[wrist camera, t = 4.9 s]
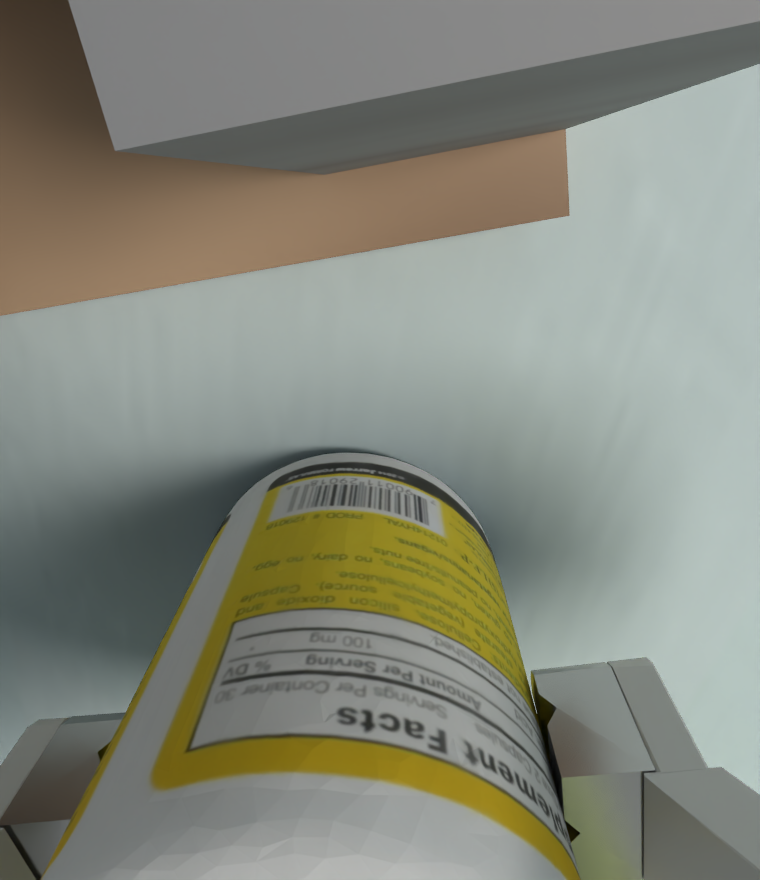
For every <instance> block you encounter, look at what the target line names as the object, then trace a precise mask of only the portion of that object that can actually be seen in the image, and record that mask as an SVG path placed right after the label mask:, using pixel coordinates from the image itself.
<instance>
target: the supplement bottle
mask: <svg viewBox="0 0 760 880" xmlns="http://www.w3.org/2000/svg"><path fill="white" fill-rule="evenodd" d="M41 880H580V876H579V872H578V868H577V865H576V861H575V857H574V853H573V850H572V846H571V842H570V838H569V834H568V831H567V827H566V823H565V819H564V816H563V813H562V810H561V806H560V802H559V798H558V794H557V790H556V786H555V782H554V779H553V774H552V769H551V766H550V763H549V760H548V757H547V752H546V748H545V744H544V740H543V736H542V733H541V729H540V725H539V721H538V717H537V714H536V710H535V706H534V703H533V699H532V696H531V691H530V687H529V684H528V680H527V676H526V672H525V669H524V665H523V661H522V658H521V654H520V650H519V647H518V643H517V638H516V635H515V631H514V627H513V624H512V620H511V616H510V613H509V609H508V605H507V601H506V597H505V593H504V590H503V587H502V583H501V579H500V576H499V573H498V569H497V567H496V563H495V560H494V556H493V553H492V550H491V547H490V545H489V542H488V539H487V537H486V535H485V533H484V531H483V529H482V526H481V525H480V523H479V522H478V520H477V518H476V517H475V515H474V514H473V512H472V511H471V510H470V508H469V507H468V506H467V505H466V504H465V503H464V502H463V501H462V499H461V498H460V497H459V496H458V495H457V494H456V493H455V492H454V491H452V490H451V489H450V488H449V487H448V486H447V485H446V484H444V483H443V482H441V481H440V480H439V479H437V478H436V477H434V476H432V475H431V474H429V473H427V472H425V471H423V470H421V469H419V468H417V467H415V466H412V465H410V464H408V463H405V462H402V461H399V460H397V459H393V458H389V457H385V456H379V455H373V454H364V453H333V454H323V455H318V456H314V457H310V458H306V459H303V460H300V461H297V462H294V463H292V464H289V465H287V466H285V467H283V468H281V469H278V470H276V471H274V472H273V473H271V474H269V475H268V476H266V477H265V478H263V479H262V480H260V481H259V482H258V483H256V484H255V485H254V486H253V487H252V488H250V489H249V490H248V491H247V492H246V493H245V494H244V495H243V496H242V497H241V498H240V499H239V501H238V502H237V503H236V504H235V506H234V507H233V508H232V510H231V511H230V512H229V514H228V515H227V517H226V518H225V520H224V522H223V523H222V525H221V527H220V528H219V530H218V532H217V534H216V536H215V537H214V539H213V541H212V543H211V545H210V547H209V549H208V551H207V553H206V555H205V557H204V559H203V561H202V562H201V564H200V566H199V568H198V570H197V572H196V574H195V576H194V578H193V580H192V582H191V584H190V586H189V588H188V590H187V592H186V594H185V596H184V598H183V600H182V602H181V604H180V606H179V608H178V610H177V612H176V614H175V616H174V618H173V620H172V622H171V624H170V626H169V628H168V630H167V632H166V634H165V636H164V638H163V640H162V642H161V643H160V645H159V647H158V649H157V651H156V653H155V655H154V657H153V659H152V661H151V663H150V665H149V667H148V669H147V671H146V673H145V675H144V677H143V679H142V681H141V683H140V685H139V687H138V689H137V691H136V693H135V695H134V697H133V699H132V701H131V703H130V705H129V707H128V709H127V711H126V713H125V715H124V717H123V719H122V721H121V723H120V725H119V727H118V729H117V730H116V732H115V734H114V736H113V738H112V740H111V742H110V744H109V746H108V748H107V750H106V752H105V754H104V756H103V758H102V760H101V762H100V764H99V766H98V768H97V770H96V772H95V774H94V776H93V777H92V779H91V781H90V783H89V785H88V787H87V789H86V791H85V793H84V795H83V797H82V799H81V801H80V803H79V805H78V807H77V809H76V811H75V813H74V814H73V816H72V818H71V820H70V822H69V824H68V826H67V828H66V830H65V832H64V834H63V836H62V838H61V840H60V842H59V844H58V846H57V848H56V850H55V852H54V854H53V856H52V858H51V860H50V862H49V864H48V866H47V868H46V870H45V872H44V874H43V876H42V878H41Z"/></svg>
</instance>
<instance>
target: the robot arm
mask: <svg viewBox="0 0 760 880" xmlns="http://www.w3.org/2000/svg"><path fill="white" fill-rule="evenodd" d="M531 685H532V694H533V698H534V702H535V706H536V710H537V717H538V721H539V725H540V729H541V733H542V736H543V740H544V744H545V748H546V752H547V757H548V760H549V763H550V766H551V769H552V774H553V779H554V782H555V786H556V790H557V794H558V798H559V802H560V806H561V810H562V813H563V816H564V819H565V823H566V827H567V831H568V834H569V838H570V842H571V846H572V850H573V853H574V857H575V861H576V865H577V868H578V872H579V876H580V880H760V794H758V793H757V792H756V791H754V790H753V789H751V788H750V787H749V786H747V785H746V784H744V783H743V782H742V781H740V780H739V779H737V778H736V777H735V776H733V775H732V774H730V773H729V772H728V771H726V770H725V769H724V768H722V767H716V768H708V767H707V765H706V763H705V761H704V759H703V757H702V755H701V753H700V751H699V749H698V748H697V746H696V744H695V742H694V740H693V738H692V736H691V734H690V732H689V730H688V729H687V727H686V725H685V723H684V721H683V719H682V717H681V715H680V713H679V712H678V710H677V708H676V706H675V704H674V702H673V700H672V698H671V696H670V694H669V693H668V691H667V689H666V687H665V685H664V683H663V681H662V679H661V677H660V676H659V674H658V672H657V670H656V668H655V666H654V664H653V663H652V662H651V661H650V660H649V659H648V658H646V657H645V658H636V659H627V660H618V661H609V662H607V663H605V662H601V663H592V664H583V665H575V666H566V667H557V668H548V669H539V670H531ZM125 713H126V712H125ZM125 713H112V714H98V715H85V716H72V717H68V718H54V719H41V720H38V721H36V722H35V723H33V724H32V725H30V726H29V727H27V729H26V730H25V732H24V733H23V734H22V736H21V737H20V739H19V740H18V742H17V743H16V744H15V746H14V747H13V749H12V750H11V752H10V753H9V754H8V756H7V757H6V759H5V760H4V762H3V763H2V764H1V766H0V880H41V878H42V876H43V874H44V872H45V870H46V868H47V866H48V864H49V862H50V860H51V858H52V856H53V854H54V852H55V850H56V848H57V846H58V844H59V842H60V840H61V838H62V836H63V834H64V832H65V830H66V828H67V826H68V824H69V822H70V820H71V818H72V816H73V814H74V813H75V811H76V809H77V807H78V805H79V803H80V801H81V799H82V797H83V795H84V793H85V791H86V789H87V787H88V785H89V783H90V781H91V779H92V777H93V776H94V774H95V772H96V770H97V768H98V766H99V764H100V762H101V760H102V758H103V756H104V754H105V752H106V750H107V748H108V746H109V744H110V742H111V740H112V738H113V736H114V734H115V732H116V730H117V729H118V727H119V725H120V723H121V721H122V719H123V717H124V715H125Z"/></svg>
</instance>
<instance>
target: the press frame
mask: <svg viewBox="0 0 760 880" xmlns="http://www.w3.org/2000/svg"><path fill="white" fill-rule="evenodd" d="M757 64H760V0H0V316H1V315H7V314H13V313H18V312H24V311H30V310H35V309H41V308H47V307H52V306H58V305H64V304H69V303H75V302H81V301H86V300H92V299H98V298H104V297H109V296H115V295H121V294H126V293H132V292H138V291H143V290H149V289H155V288H160V287H166V286H172V285H177V284H183V283H189V282H194V281H200V280H206V279H211V278H217V277H223V276H228V275H234V274H240V273H246V272H251V271H257V270H263V269H268V268H274V267H280V266H285V265H291V264H297V263H302V262H308V261H314V260H319V259H325V258H331V257H336V256H342V255H348V254H353V253H359V252H365V251H370V250H376V249H382V248H388V247H393V246H399V245H405V244H410V243H416V242H422V241H427V240H433V239H439V238H444V237H450V236H456V235H461V234H467V233H473V232H478V231H484V230H490V229H495V228H501V227H507V226H513V225H518V224H524V223H530V222H535V221H541V220H547V219H552V218H558V217H564V216H569V196H568V174H567V152H566V130H565V129H567V128H570V127H573V126H576V125H579V124H582V123H585V122H588V121H591V120H594V119H597V118H599V117H602V116H605V115H608V114H611V113H614V112H617V111H620V110H623V109H626V108H629V107H632V106H635V105H638V104H641V103H644V102H647V101H650V100H653V99H656V98H659V97H662V96H665V95H668V94H671V93H674V92H677V91H680V90H683V89H686V88H689V87H691V86H694V85H697V84H700V83H703V82H706V81H709V80H712V79H715V78H718V77H721V76H724V75H727V74H730V73H733V72H736V71H739V70H742V69H745V68H748V67H751V66H754V65H757Z"/></svg>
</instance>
